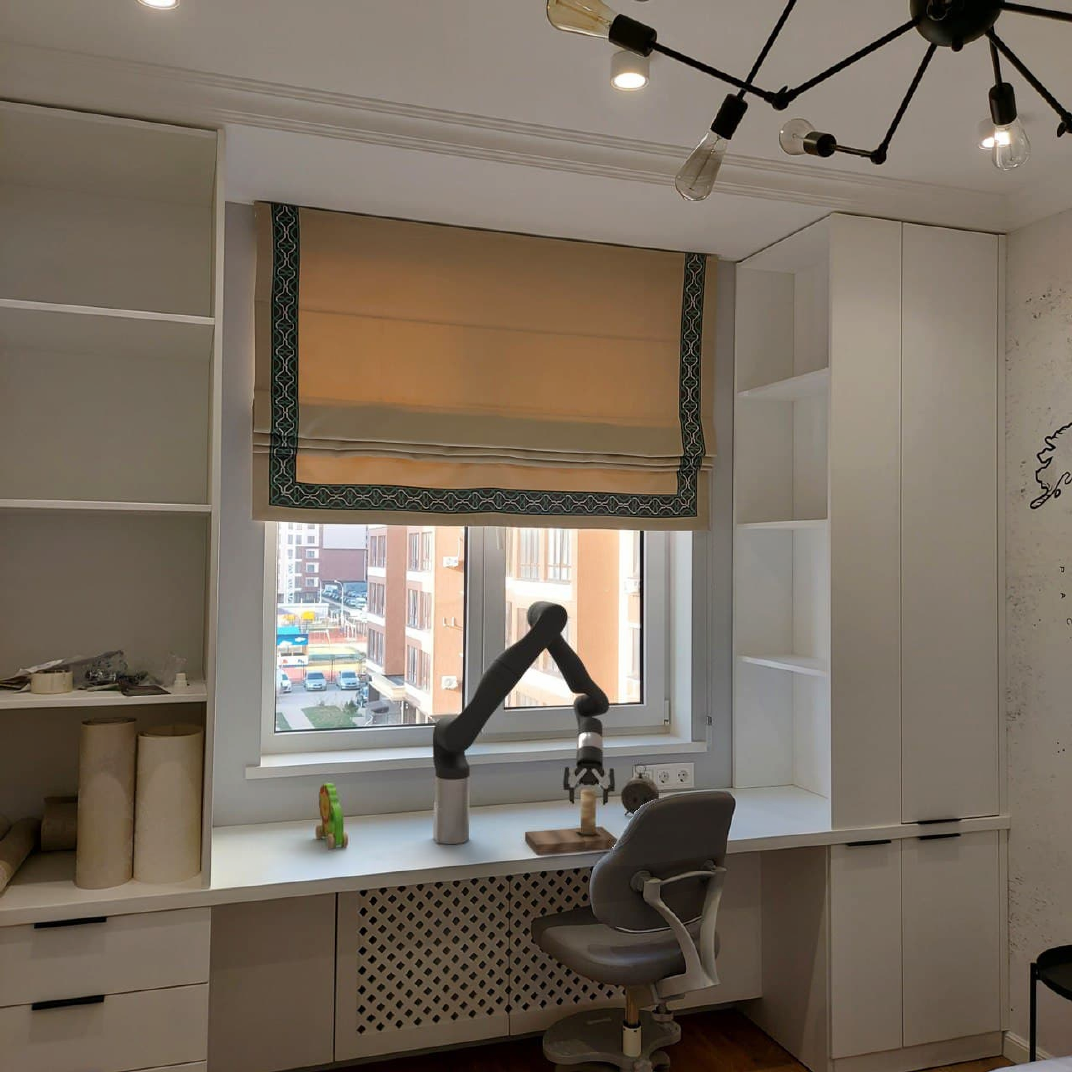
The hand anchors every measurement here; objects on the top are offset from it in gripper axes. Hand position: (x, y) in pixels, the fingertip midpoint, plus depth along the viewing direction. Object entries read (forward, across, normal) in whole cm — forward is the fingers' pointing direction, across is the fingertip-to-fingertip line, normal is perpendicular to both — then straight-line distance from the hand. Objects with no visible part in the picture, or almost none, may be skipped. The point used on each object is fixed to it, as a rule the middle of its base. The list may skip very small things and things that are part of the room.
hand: (588, 802), depth 256 cm
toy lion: (+14, -69, +2) cm, 70 cm away
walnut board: (+10, -5, +4) cm, 12 cm away
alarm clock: (-10, +15, +25) cm, 30 cm away
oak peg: (+9, 0, +6) cm, 11 cm away
